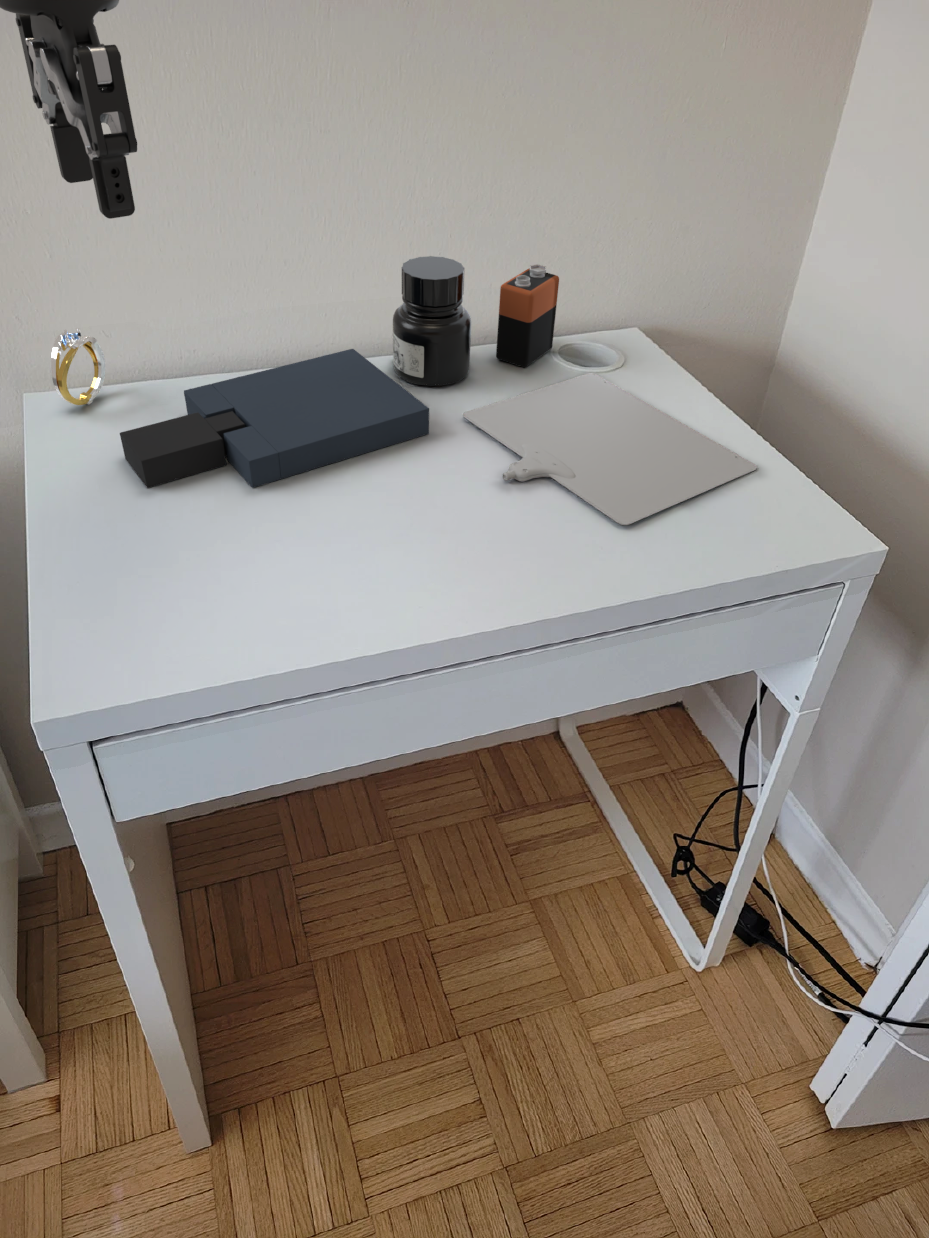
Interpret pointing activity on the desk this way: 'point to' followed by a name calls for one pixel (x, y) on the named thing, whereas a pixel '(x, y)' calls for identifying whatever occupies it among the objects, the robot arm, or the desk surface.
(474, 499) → the desk surface
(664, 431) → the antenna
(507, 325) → the battery
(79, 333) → the ring
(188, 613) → the desk surface
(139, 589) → the desk surface
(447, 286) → the ink bottle
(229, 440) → the pad mat
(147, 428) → the pad tile
